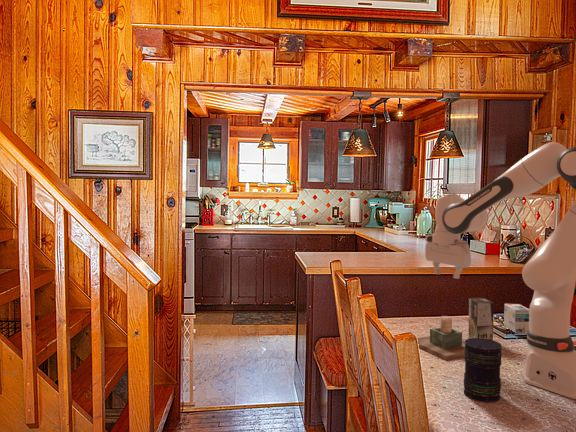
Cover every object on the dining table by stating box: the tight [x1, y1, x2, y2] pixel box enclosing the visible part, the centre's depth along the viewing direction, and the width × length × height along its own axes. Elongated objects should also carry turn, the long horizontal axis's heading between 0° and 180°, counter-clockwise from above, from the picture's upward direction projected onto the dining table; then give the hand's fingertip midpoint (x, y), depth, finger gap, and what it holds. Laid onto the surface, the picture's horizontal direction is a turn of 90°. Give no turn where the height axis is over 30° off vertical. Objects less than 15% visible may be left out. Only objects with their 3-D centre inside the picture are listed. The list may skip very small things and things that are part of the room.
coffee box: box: [468, 297, 495, 341], centre depth 184 cm, size 9×6×16 cm
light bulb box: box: [503, 303, 530, 335], centre depth 196 cm, size 11×7×11 cm, turn 179°
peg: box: [439, 315, 453, 334], centre depth 176 cm, size 4×4×10 cm
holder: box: [416, 327, 465, 361], centre depth 176 cm, size 20×18×6 cm
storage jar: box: [463, 338, 503, 403], centre depth 135 cm, size 10×10×15 cm
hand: (447, 276), depth 175 cm, fingers open, 8 cm apart
